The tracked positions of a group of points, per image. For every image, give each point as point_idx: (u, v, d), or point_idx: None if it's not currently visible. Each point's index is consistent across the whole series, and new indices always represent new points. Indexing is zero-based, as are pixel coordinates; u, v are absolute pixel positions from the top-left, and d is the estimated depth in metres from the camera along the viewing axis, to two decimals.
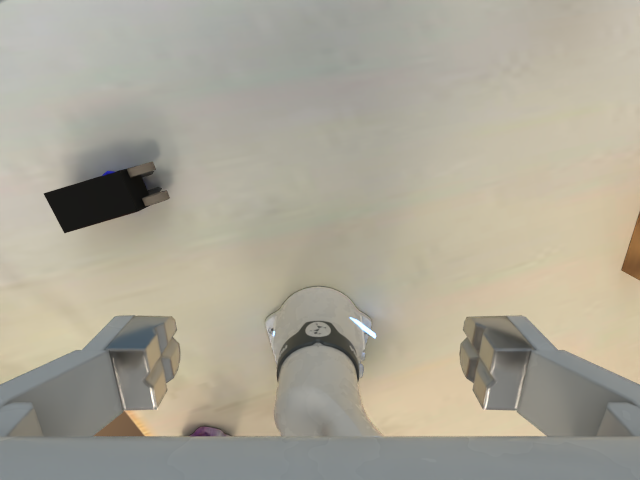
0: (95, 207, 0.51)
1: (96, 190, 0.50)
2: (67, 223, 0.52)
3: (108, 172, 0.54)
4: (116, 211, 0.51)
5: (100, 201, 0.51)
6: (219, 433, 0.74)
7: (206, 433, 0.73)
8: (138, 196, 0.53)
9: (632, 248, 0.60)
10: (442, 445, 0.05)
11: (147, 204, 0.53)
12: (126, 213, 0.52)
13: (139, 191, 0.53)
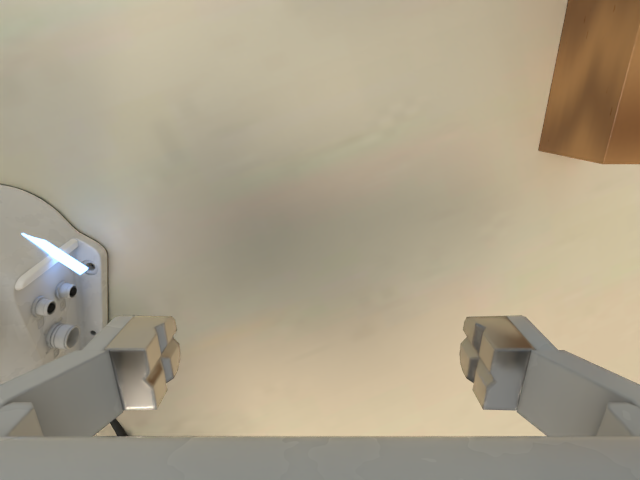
0: None
1: None
2: None
3: None
4: None
5: None
6: None
7: None
8: None
9: (553, 101, 0.32)
10: (442, 445, 0.05)
11: None
12: None
13: None
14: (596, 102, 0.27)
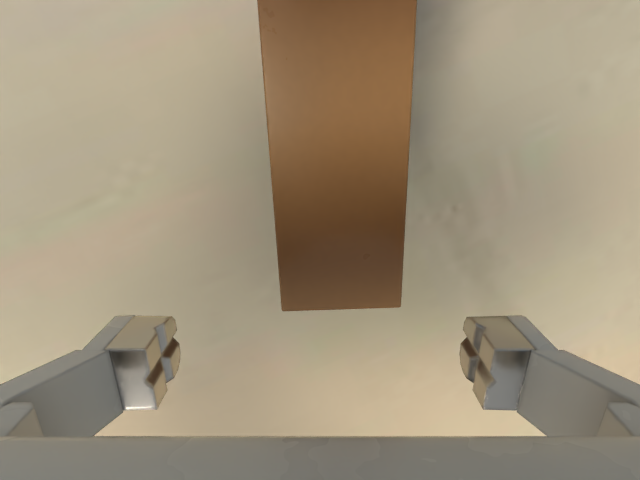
0: None
1: None
2: None
3: None
4: None
5: None
6: None
7: None
8: None
9: None
10: (442, 445, 0.05)
11: None
12: None
13: None
14: None
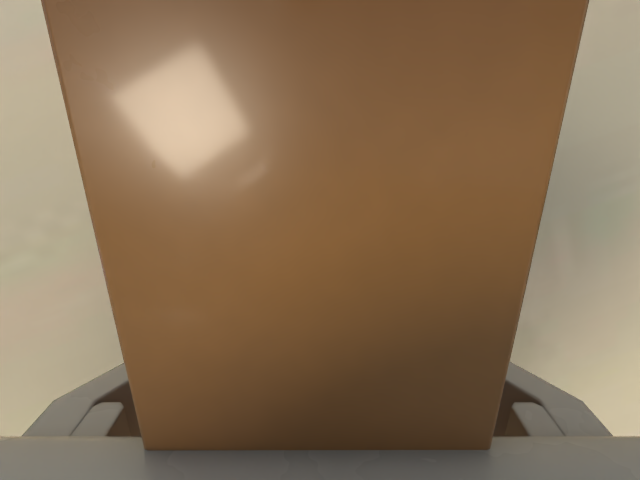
0: None
1: None
2: None
3: None
4: None
5: None
6: None
7: None
8: None
9: None
10: None
11: None
12: None
13: None
14: None
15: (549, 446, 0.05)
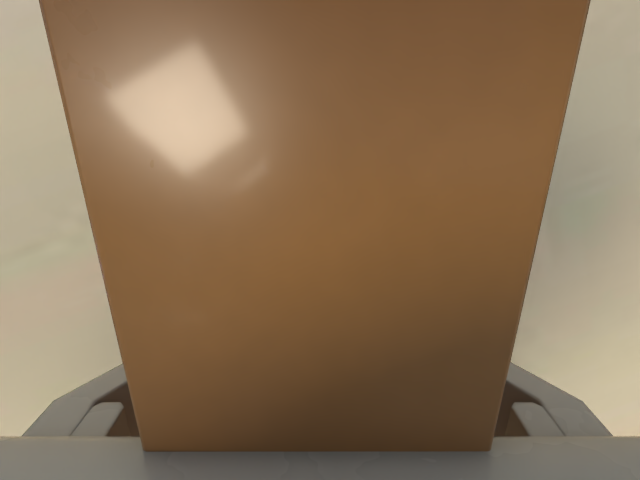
0: None
1: None
2: None
3: None
4: None
5: None
6: None
7: None
8: None
9: None
10: None
11: None
12: None
13: None
14: None
15: (549, 446, 0.05)
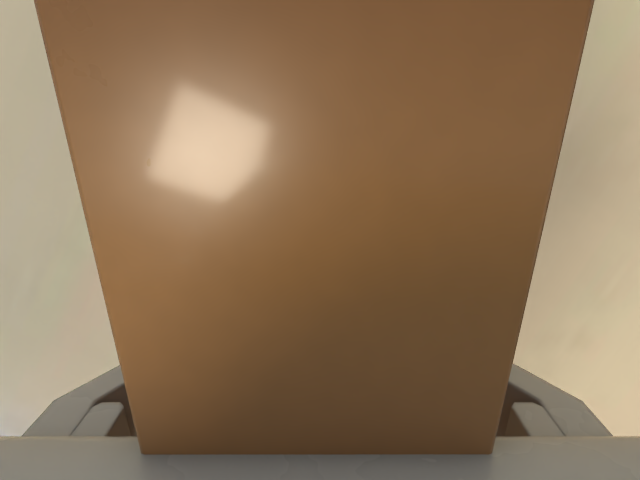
0: None
1: None
2: None
3: None
4: None
5: None
6: None
7: None
8: None
9: None
10: None
11: None
12: None
13: None
14: None
15: (549, 446, 0.05)
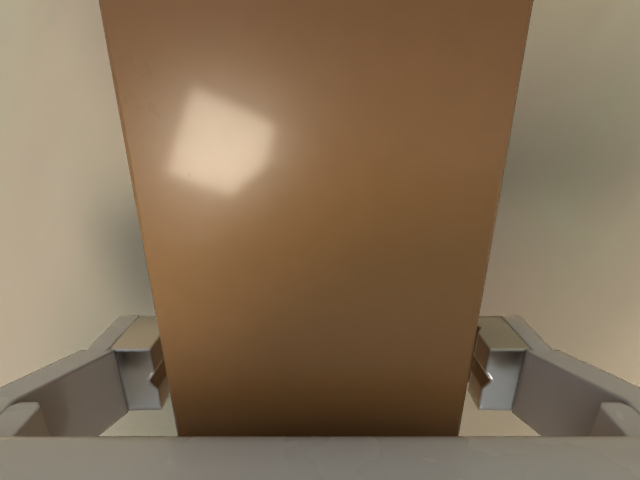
0: None
1: None
2: None
3: None
4: None
5: None
6: None
7: None
8: None
9: None
10: (442, 445, 0.05)
11: None
12: None
13: None
14: None
15: (549, 446, 0.05)
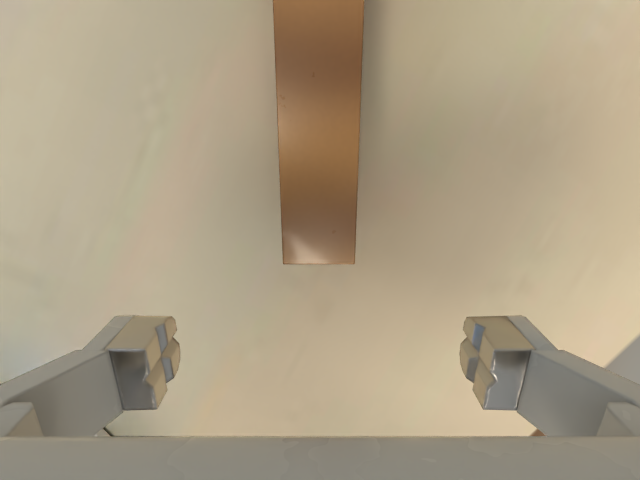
0: None
1: None
2: None
3: None
4: None
5: None
6: None
7: None
8: None
9: None
10: (442, 445, 0.05)
11: None
12: None
13: None
14: None
15: (549, 446, 0.05)
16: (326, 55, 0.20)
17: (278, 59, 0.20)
